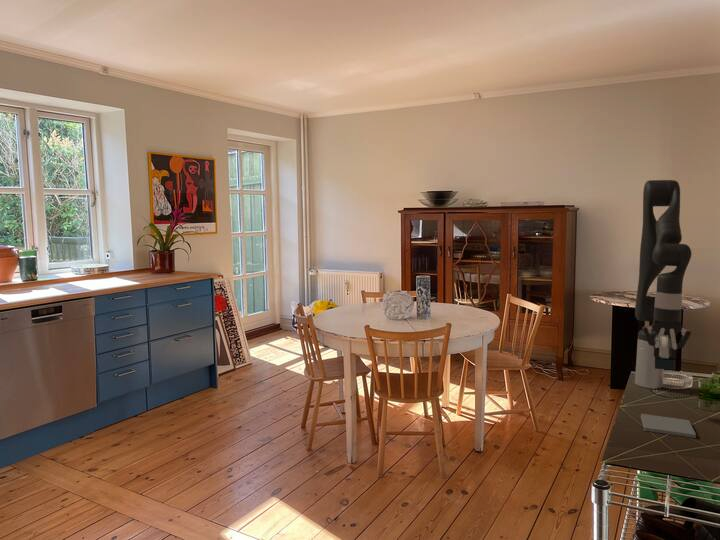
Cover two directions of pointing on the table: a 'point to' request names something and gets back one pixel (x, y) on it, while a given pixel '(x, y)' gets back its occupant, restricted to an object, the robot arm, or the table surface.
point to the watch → (665, 355)
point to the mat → (667, 425)
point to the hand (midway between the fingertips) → (664, 359)
